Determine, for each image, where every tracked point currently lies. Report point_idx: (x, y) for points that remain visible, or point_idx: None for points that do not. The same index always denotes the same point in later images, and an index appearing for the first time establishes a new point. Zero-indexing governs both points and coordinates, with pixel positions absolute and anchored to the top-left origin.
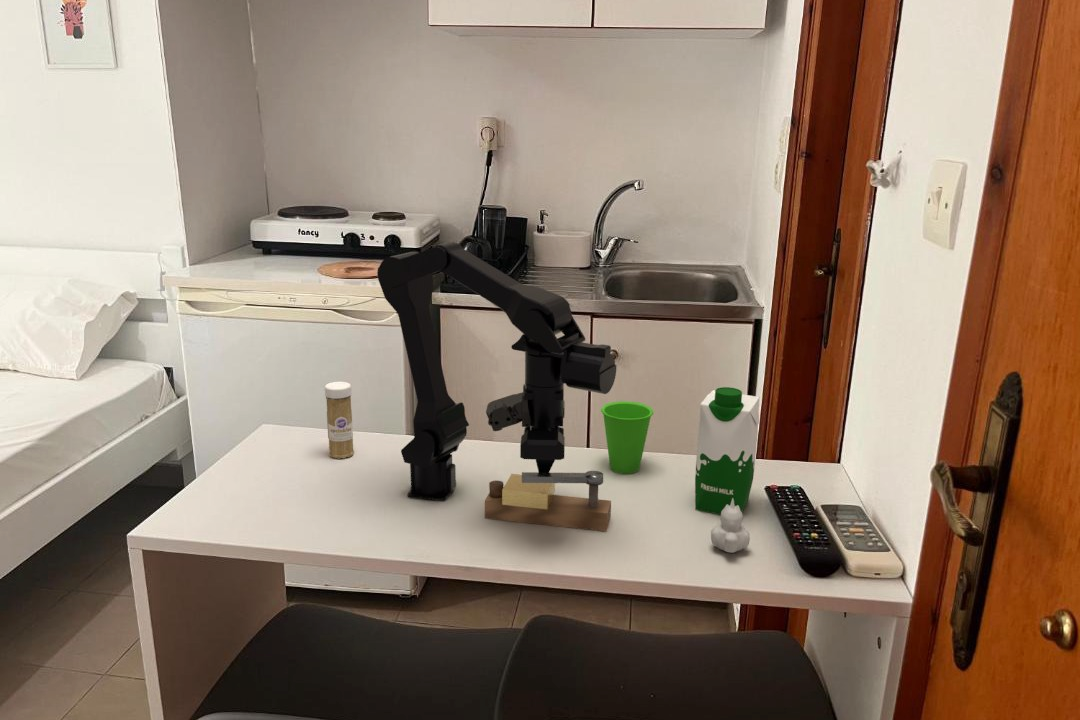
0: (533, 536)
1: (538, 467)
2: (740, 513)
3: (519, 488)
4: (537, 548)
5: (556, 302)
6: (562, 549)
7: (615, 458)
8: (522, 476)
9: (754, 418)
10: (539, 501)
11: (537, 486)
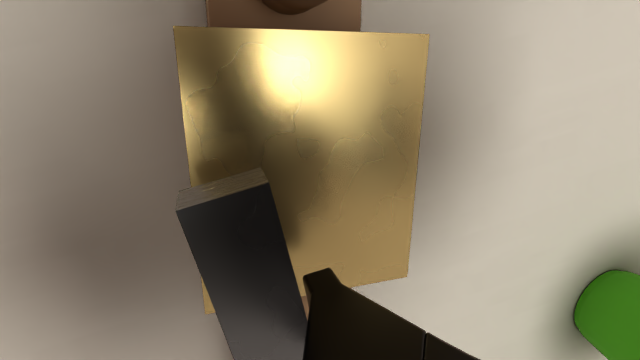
0: (109, 202)
1: (307, 327)
2: None
3: (229, 142)
4: (7, 248)
5: None
6: (48, 328)
7: (624, 318)
8: (180, 216)
9: None
10: None
11: (289, 232)
